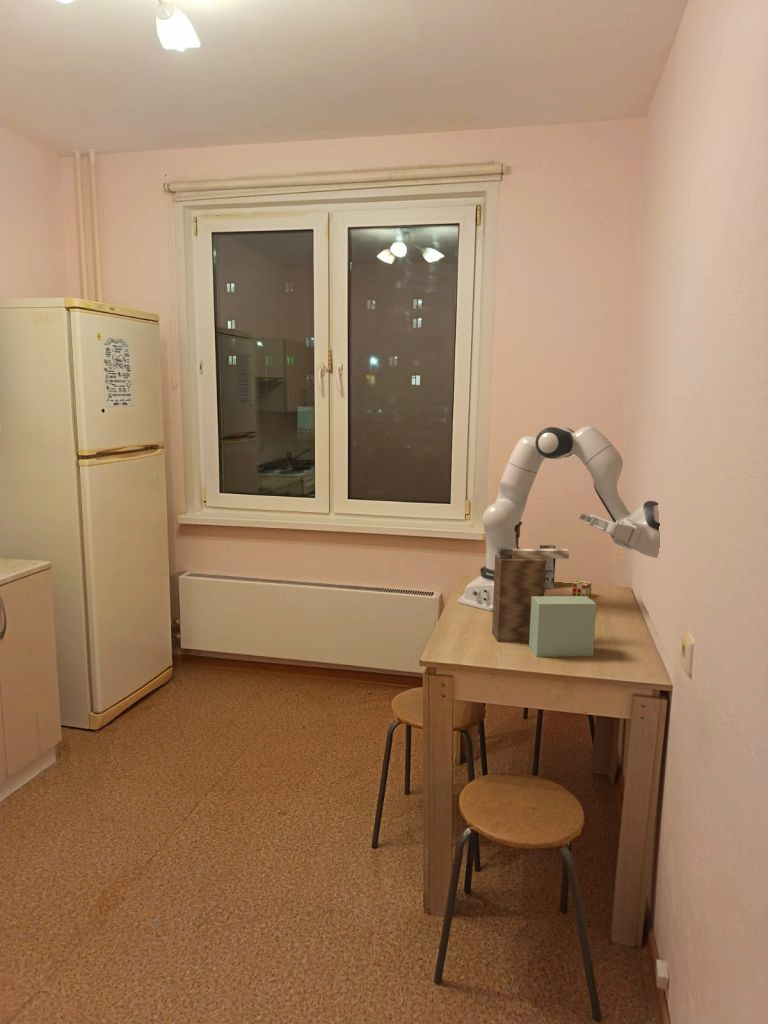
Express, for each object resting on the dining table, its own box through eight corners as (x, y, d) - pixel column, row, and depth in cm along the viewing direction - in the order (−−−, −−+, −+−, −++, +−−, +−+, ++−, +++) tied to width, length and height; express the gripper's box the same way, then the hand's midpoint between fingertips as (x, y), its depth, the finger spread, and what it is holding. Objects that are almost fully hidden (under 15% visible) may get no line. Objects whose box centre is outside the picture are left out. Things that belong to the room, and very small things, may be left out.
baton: (565, 556, 211) (565, 546, 210) (569, 558, 207) (569, 549, 207) (496, 556, 209) (497, 546, 209) (499, 558, 206) (499, 549, 205)
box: (583, 646, 204) (586, 596, 202) (593, 656, 196) (596, 603, 194) (528, 647, 203) (531, 596, 201) (536, 656, 195) (539, 604, 193)
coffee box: (554, 588, 271) (556, 549, 268) (538, 587, 272) (540, 548, 270) (553, 582, 280) (555, 545, 277) (537, 581, 281) (539, 544, 279)
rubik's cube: (577, 593, 264) (578, 580, 263) (590, 595, 261) (591, 582, 260) (571, 596, 260) (572, 582, 259) (585, 599, 257) (586, 585, 256)
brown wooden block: (534, 632, 216) (538, 554, 212) (541, 641, 208) (546, 560, 204) (491, 633, 215) (495, 554, 211) (497, 641, 208) (501, 560, 204)
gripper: (615, 518, 220) (577, 504, 218) (643, 528, 200) (601, 512, 198) (608, 536, 220) (570, 522, 219) (635, 547, 200) (593, 532, 199)
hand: (585, 518), depth 208 cm, fingers open, 8 cm apart
